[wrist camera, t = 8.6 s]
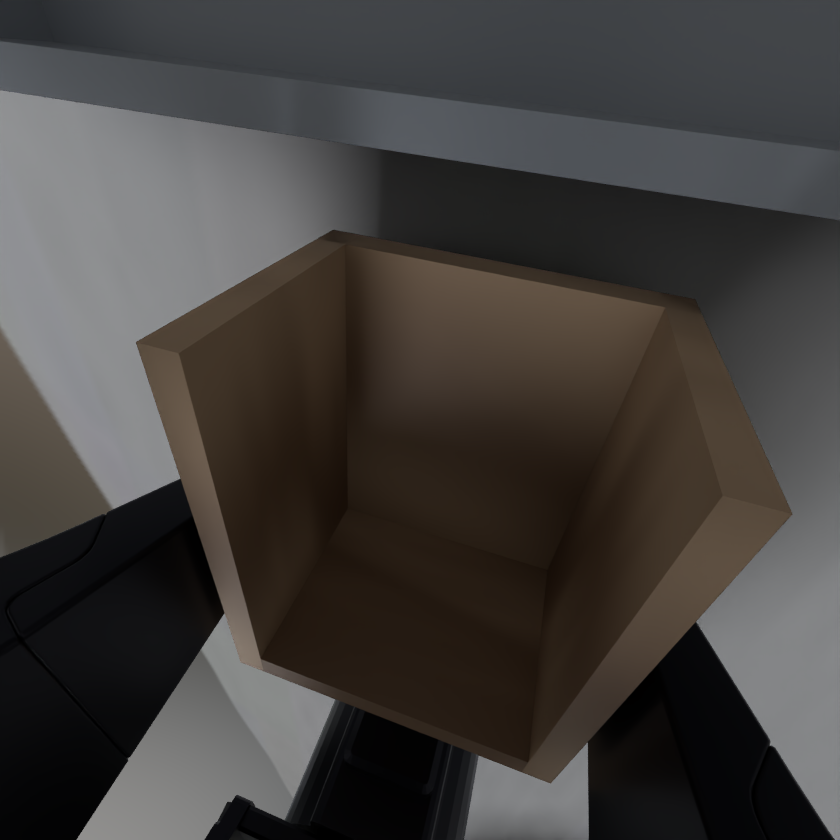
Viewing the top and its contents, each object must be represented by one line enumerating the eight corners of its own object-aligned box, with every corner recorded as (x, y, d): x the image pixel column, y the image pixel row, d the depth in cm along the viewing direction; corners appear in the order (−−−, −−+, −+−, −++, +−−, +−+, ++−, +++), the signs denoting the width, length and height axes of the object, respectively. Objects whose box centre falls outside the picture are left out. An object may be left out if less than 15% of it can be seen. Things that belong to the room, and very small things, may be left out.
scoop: (564, 567, 11) (550, 784, 8) (340, 499, 12) (240, 662, 9) (694, 298, 7) (792, 513, 4) (332, 229, 8) (135, 342, 5)
